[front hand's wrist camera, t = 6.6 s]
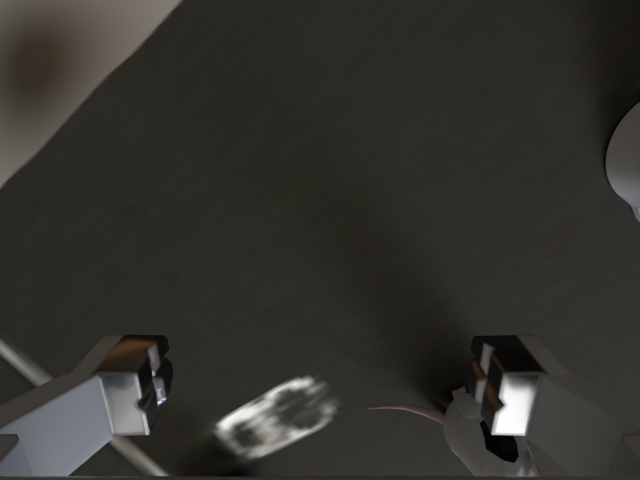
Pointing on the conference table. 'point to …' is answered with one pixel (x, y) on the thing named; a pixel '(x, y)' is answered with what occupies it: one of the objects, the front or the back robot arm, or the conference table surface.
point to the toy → (478, 439)
